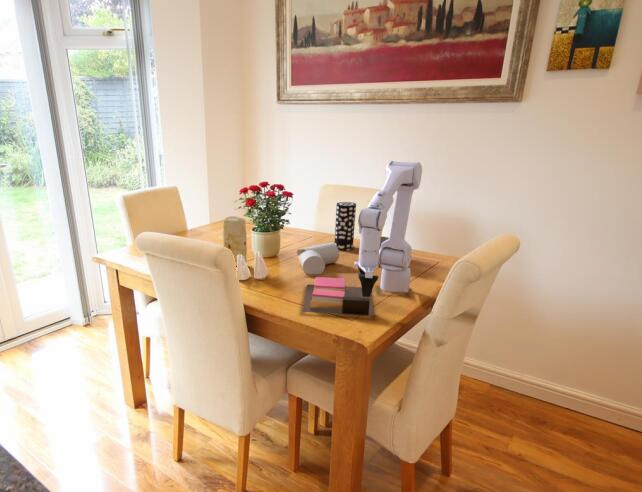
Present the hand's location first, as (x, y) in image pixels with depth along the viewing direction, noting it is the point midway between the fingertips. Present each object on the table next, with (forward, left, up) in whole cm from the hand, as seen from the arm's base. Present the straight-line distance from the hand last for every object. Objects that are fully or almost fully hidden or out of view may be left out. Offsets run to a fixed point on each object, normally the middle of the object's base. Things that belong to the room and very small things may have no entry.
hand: (365, 291), depth 141 cm
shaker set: (+40, -26, -8) cm, 48 cm away
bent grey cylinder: (+16, -42, -8) cm, 46 cm away
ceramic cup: (-7, -52, -8) cm, 53 cm away
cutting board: (+8, -9, -8) cm, 15 cm away
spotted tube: (+6, -70, -8) cm, 71 cm away
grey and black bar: (+8, +1, -7) cm, 10 cm away
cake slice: (+11, -4, -7) cm, 14 cm away
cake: (+11, -14, -7) cm, 19 cm away
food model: (+50, -41, -8) cm, 65 cm away
